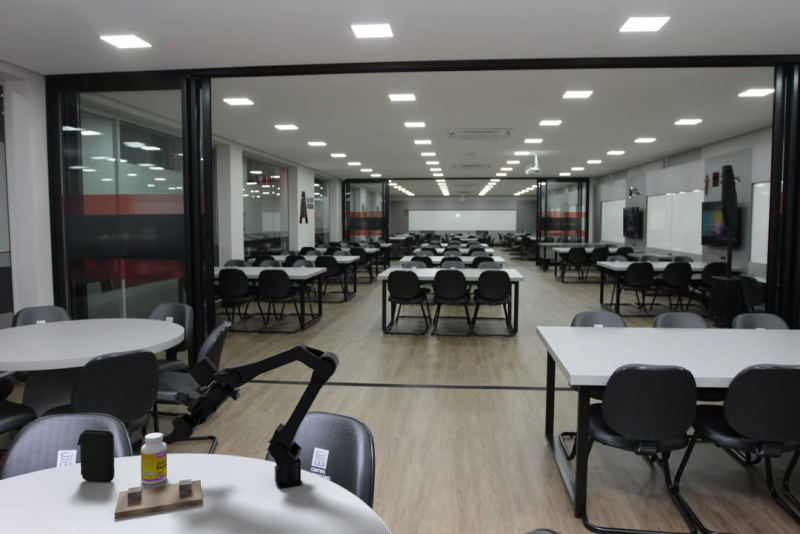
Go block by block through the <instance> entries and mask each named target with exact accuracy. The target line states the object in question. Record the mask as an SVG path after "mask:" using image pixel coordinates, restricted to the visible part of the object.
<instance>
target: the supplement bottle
mask: <svg viewBox="0 0 800 534" xmlns="http://www.w3.org/2000/svg"><path fill="white" fill-rule="evenodd" d="M163 440H164V433H162V432H151V433H148V434H146V435H145V436H144V442H145V443H144V444H143V445H142V446H141V449H140V481H141V483H142V484H144V485H158V484H160V483H162V482H165V480H167V478H168V477H167V476H168V473H167V472H168V462H167V461H168V457H167V456H168V451H167V450H168V449H167V447H168V446H167V445H168V444H167V443H166V442H164V441H163Z"/></svg>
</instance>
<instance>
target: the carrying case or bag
mask: <svg viewBox="0 0 800 534" xmlns="http://www.w3.org/2000/svg"><path fill="white" fill-rule="evenodd" d="M114 437H115V435H114V433H113V432H112V431H111V430H109V429H108V430H107V429H92V428H86V429H85V430H83V431H82V432H81V433H80V435H79V436H78V441H77V447H79V449H80V451H79V452H80V455H79V456H80V475H81V478H82V479H83V480H84V481H86V482H92V481H93V482H94V483H110V482H112V481H113V480H114V478H115V438H114Z"/></svg>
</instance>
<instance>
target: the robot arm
mask: <svg viewBox="0 0 800 534" xmlns="http://www.w3.org/2000/svg"><path fill="white" fill-rule="evenodd" d="M296 361H298V362H300V363H302V364H303V365H305V366H306V367H308V368H309V369H312V373H311V376H310V380H309V382H308V384H307V386H306V388H305V390H304V392H303V393H302V395H301V397H300V398H299V400H298V402H297V404H296V406H295V407H294V409H293V411H292V413H291V414H290V416H289V418H288V420H287V422H286V423H285V424H283V423H281V422H280V423H279V424H278V425H277V427H276V429H275V430H274V433H273V435H272V436H271V438H270V439H269V441H268V444H269V445H268V452H269V455H270V456H271V457H272V458H273V459H274V462H275V466H274V482H275V484H276V485H277V487H278V489H283V488H290V487H297V486H302V485H303V481H302V477H301V476H302V472H301V471H302V470H301V469H302V460H301V458H300V455H301V453H302V450H303V448H302V446H300V445H299V444H298V443H297V442H296V439H297V435H298V434H299V433H298V432H299V429H300V427H301V425H302V422H303V421H304V419H305V418H306V416H307V414H308V412H309V410H310V409H311V407H312V405H313V403H314V401H315V400H316V398H317V396H318V395H319V393H320V391H321V390H322V388H323V387H324V385H325V384H326V383H328V381H329V380H330V378H331V377H332V376H333V375H334V373H336V370H337V369H338V367H339V364H340V359H339V357H338V355H337V354H335V352H332V351H323V350H321V349H318V348H314V347H311V346H308V345H306V344H303V343H297V344H296V345H294V346H292V347H290V348H287V349H284V350H281V351H279V352H275V353H272V354H271V355H268V356H265V357H264V358H263V357H262V358H261V359H256V360H249V361H243V362H238V363H236V364H235V365H233V366H231V367H224V368H221V369H219V368H218V367H217V366H216V364H214V363H213V362H212V361H211V358H209V357H208V356H206V357H204V358H202V360H200V361H199V362H198V363H196V364H195V365H193V366H192V367H191V368H190V369H189V370H188V371H187V375H188V376H189V377H190V378H191V379H192V380H193V381H194V382H195V383H196V384H197V385H198V386H199V387H200V388H202V389H203V388H209V387H210V386H211V385H212V384H213V383H214V382H215V383H214V384H213V385H212V386H211V387H210V388H209V389H208V390H206V391H205V392H203V394H201V393H199V392H198V391H196V390H193V389H191V388H190V387H187V386H183V387H181V388H179V389H178V390H177V393H176V394H175V395H174V396H173V397H174V399H173V401H174V402H175V403H177V404H179V405H182V406H185V407H187V408H186V411H187V412H189V414H190V415H189V414H188V413H184V412H181V413H180V414H178V415H177V416H176V417H175V418H174V419H173V420H172V421H171V425H172V426H173V430H172V431H171V433H170V435H169V436H168V437H167V439H166V442H165V444H166V445H168V446H169V445H171V444H174V443H177V442H179V441H180V442H181V441H182V440H186V439H189V438H191V436H193V435H194V434H195V432H196V431H198V427H199V426H201V425H203V424H205V423H207V422H208V421H210V420H211V419H212V418H213V417H214V416H215V415H216V414H217V411H218V410H219V409H220V408H222V406H223V405H224V404H225V403H226V402H227V401H228V400H229V399H230V398H231V399H232V400H233V401H238V400H239V398H240V397H241V393H240V391H241V389H240V388H241V387H242V386H244V385H245V384H247V383H249V382H250V381H252V380H253V379H255V378H257V377H258V376H260V375H263V374H265V373H268V372H270V371H272V370H275V369H277V368H278V369H279V368H280V367H284V366H285V365H288V364H291V363H294V362H296Z"/></svg>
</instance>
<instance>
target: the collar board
mask: <svg viewBox="0 0 800 534" xmlns="http://www.w3.org/2000/svg"><path fill="white" fill-rule="evenodd" d="M202 492H203V490H202V481H201V479H197V480H192V478H191V479H182V480H179V481H178V482H177V483H169V484H163V485H157V486H151V487H144V488H142V485H141V486H140V485H139V486H134V487H128V488H127V490H124V491H123V490H122V491H119V492H118V498H117V502H116V505H115V509H114V520H116V519H122V518H124V519H125V518H130V517H136V516H141V515H147V514H148V515H149V514H154V513H155V514H156V513H161V512H166V511H171V510H179V509H186V508H190V507H197V506H202V505H203V493H202Z"/></svg>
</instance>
